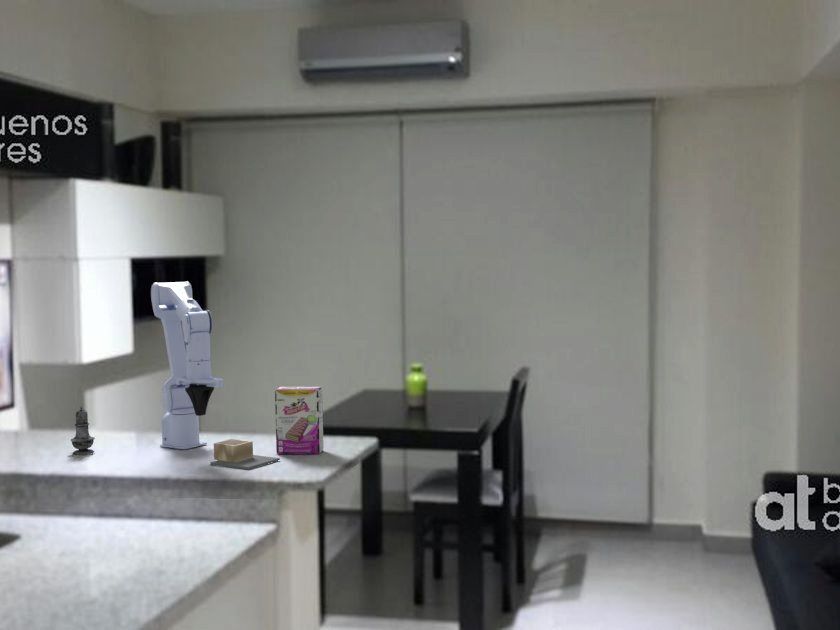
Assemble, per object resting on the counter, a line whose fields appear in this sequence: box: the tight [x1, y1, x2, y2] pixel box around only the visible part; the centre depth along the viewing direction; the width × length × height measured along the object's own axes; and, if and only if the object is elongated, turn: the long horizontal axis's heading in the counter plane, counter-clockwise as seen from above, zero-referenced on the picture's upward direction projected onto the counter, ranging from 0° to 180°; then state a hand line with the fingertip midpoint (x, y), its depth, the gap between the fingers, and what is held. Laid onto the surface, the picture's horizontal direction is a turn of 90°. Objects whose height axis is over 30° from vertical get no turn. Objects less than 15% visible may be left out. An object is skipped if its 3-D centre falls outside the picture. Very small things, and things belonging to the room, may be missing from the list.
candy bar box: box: [274, 386, 324, 455], centre depth 235 cm, size 11×5×16 cm, turn 84°
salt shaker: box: [70, 406, 96, 456], centre depth 242 cm, size 6×6×12 cm
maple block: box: [213, 438, 254, 463], centre depth 227 cm, size 4×6×7 cm
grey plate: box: [209, 454, 281, 471], centre depth 225 cm, size 12×11×1 cm
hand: (200, 415), depth 233 cm, fingers closed
